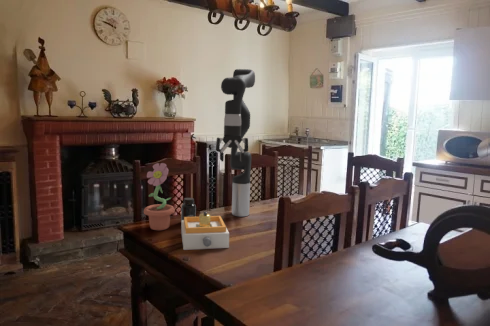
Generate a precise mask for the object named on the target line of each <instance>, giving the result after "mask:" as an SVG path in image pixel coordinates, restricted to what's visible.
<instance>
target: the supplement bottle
mask: <svg viewBox="0 0 490 326" xmlns="http://www.w3.org/2000/svg"><path fill="white" fill-rule="evenodd" d="M196 213H197V206H196V204H195V199H194V198H193V197H184V198H183V203H182V204H181V213H180V214H181V216H180V221H181V220H184V217H197V216H196Z"/></svg>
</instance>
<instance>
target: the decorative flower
mask: <svg viewBox="0 0 490 326" xmlns="http://www.w3.org/2000/svg"><path fill="white" fill-rule="evenodd" d="M152 168H153V171H147V173H146V178H147V179H148V180H147V183H148V184H149V185H152V186H154V187H155V189H154V191H153V192H151V193H150V194H148V197H149V198H151V197H153V198H154V200H156V201H157V202H161V203H159V204H156V203H155V204H151V205H148V206H146V207H144V209H143V214H144V215H146V216H148V221H149V227H150V229H151V230H154V231H164V230H168V229H169V227H170V225H171V215H173V214H174V213H175V211H176V209H175V207H174V206H173V205H171V204H167V201H169V200H171V199H172V198H173V197H168V198H166V199H165V198H163V197H162V198H161V197H159V196H158V194H159V191H160V193H161V194H163V190H162V189H163V188H162V186H161V185H162V184H163V183H164V182H165V181H166V180H167V177H168V175H169V168H168V166H167V164H166V163H164V162H161V163H157V162H156V163H155V164H153V165H152Z"/></svg>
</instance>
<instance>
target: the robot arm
mask: <svg viewBox="0 0 490 326" xmlns="http://www.w3.org/2000/svg"><path fill="white" fill-rule="evenodd" d="M255 83H256V75H255V71H254V70H252V69H250V68H249V69H245V68H243V69H242V68H237V69H234V70H233V75H232V76H231V77H225V78H224V79H223V80H222V81H221V84H220V89H221V91H222V93H223V94H225V95H227V96H228V95H231V96H232V99H229V100H226V101H225V103H224V118H223V119H224V120H223V137H216V139H215V141H216V142H215V151H216V152H218V153H219V159H220V161H221V162H224V155H225V154H224V153H225V150H226V149H227V148H230V158H229V159H230V160H229V164H230V169H231V170H240V171H241V170H243V172H242V173H240V174H238V175H235V176H233V177H232V186H231V187H232V190H231V191H232V195H231V196H232V197H231V198H232V199H231V200H232V201H231V215H232V216H235V217H248V216H249V215H250V199H251V172H252V171H251V170H252V153H251V152H248V151H249V138H247V137H245V135H246V134H247V132H248V131H249V129H250V127H251V112H250V110H249V108H248V106H247V105H246V103H245V101H244V99H243V98H244V95H245V92H246V89H248V88H253V87H254V85H255ZM222 141H223V145H222V147H221V148H220V144H221V143H222ZM241 142H242V143H243V145H244V148H242V145H241Z"/></svg>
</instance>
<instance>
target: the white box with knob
mask: <svg viewBox="0 0 490 326" xmlns="http://www.w3.org/2000/svg"><path fill="white" fill-rule="evenodd" d="M180 222H181V226H180V229H181V230H180V231H181V240H182V248H183V250H184V251H188V250H209V249H211V250H212V249H229V248H230V232H229V230H228V228H227V225H226V224H225V222H224V220H223V218H222V216H221V215H210V227H199V216H196V217H184V220H181V219H180Z"/></svg>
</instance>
